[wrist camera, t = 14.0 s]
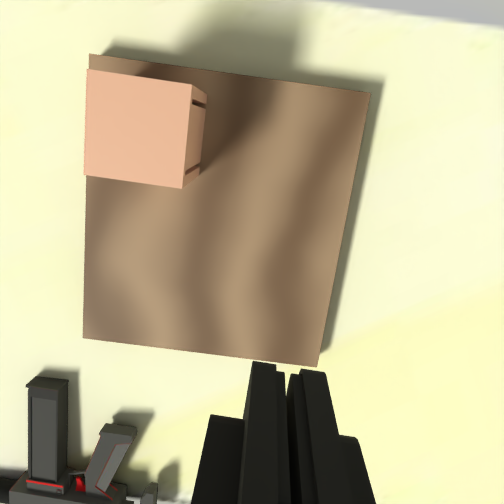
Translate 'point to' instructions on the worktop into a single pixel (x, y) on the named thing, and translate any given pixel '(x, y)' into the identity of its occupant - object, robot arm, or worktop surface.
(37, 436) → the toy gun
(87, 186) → the board
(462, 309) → the worktop surface
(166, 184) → the salmon pink block
